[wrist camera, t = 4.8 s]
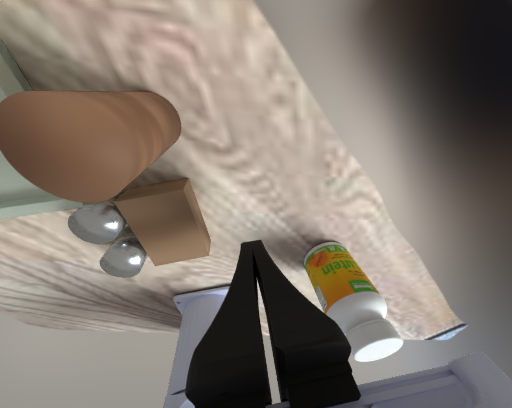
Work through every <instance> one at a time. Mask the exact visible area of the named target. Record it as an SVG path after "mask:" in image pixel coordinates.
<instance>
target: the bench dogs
mask: <svg viewBox="0 0 512 408" xmlns="http://www.w3.org/2000/svg"><path fill="white" fill-rule="evenodd" d="M121 195H122V193H118V194H117V195H116V196H114V197H112V198H111V199H108V200H105V201H101V202H95V203H86V204H85V205H84V206H82V207H81V208H80V209H78V210H77V211H76V212H75V213H73V214H72V215H71V216H70V217H69V220H68V226H69V228H70V230H71V231H72V232H73V234H75V235H76V236H77V237H78V238H80V239H82V240H84V241H87V242H90V243H94V244H106V243H109V242H112V241H113V240H114V239H115V238H116V237H117V236H118V235H119V236H118V237H117V238H116V240H115V241H114V242H113V244H112V245H111V246H110V248H109V249H108V250H107V251H106V253H105V254H104V255H103V257H102V258H101V260H100V266H101V268H102V269H103V270H104V271H105V272H107V273H108V274H110V275H113V276H116V277H123V278H125V277H132V276H135V275H137V274H138V273H139V272H140V270H141V268H142V266H143V264H144V262H145V260H146V258H147V256H148V254H147V253H146V251H145V250H144V248H143V247H142V245H141V243H140V242H139V240H138V239H137V237H136V236H135V234H134V233H133V231H132V229H126V230H124V231H122V229H123V228H124V227H125V225H126V224H127V222H126V220H125V219H124V217H123V216H122V214H121V212H120V211H119V209H118V208H117V206H116V205H115V203H114V202H115V201H116V200H117V199H118V198H119V197H120V196H121ZM121 231H122V232H121ZM120 232H121V233H120ZM119 233H120V234H119Z"/></svg>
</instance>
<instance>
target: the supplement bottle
mask: <svg viewBox="0 0 512 408" xmlns="http://www.w3.org/2000/svg"><path fill="white" fill-rule="evenodd" d="M304 266H305V269H306V272H307V274H308V276H309V279H310V281H311V283H312V285H313V288H314V290H315V292H316V295H317V297H318V299H319V301H320V304H321V306H322V308H323V311H324V313H325V314H326V315H327V316H329V317H330V318H331V319H333V320H334V321H335V322H336V323H337V324H338V325H339V327H340V328H341V330H342V331H343V333H344V334H346V338H347V339H348V341H349V343H350V345H351V347H352V348H351V353H352V355H353V357H354V359H355V360H357V361H360V362H367V361H374V360H378V359H381V358H384V357H386V356H389V355H391V354H392V353H394V352H396V351H397V350H398V349H400V347H401V346H402V345H403V340H402V338H401V337H400V335H399V334H398V332H397V331H396V329H395V328H394V326H393V325H392V324H391V323H390V322H389V321H388V320H385V319H384V318H385V316H386V313H387V306H386V303H385V301H384V299H383V298H382V296H381V295H380V294H379V292H378V291H377V290H376V288H375V287H374V286H373V284H372V283H371V282H370V280H369V279H368V278H367V276H366V275H365V274H364V272H363V271H362V270H361V268H360V267H359V266H358V264H357V263H356V262H355V260H354V259H353V257H352V256H351V255H350V253H349V252H348V251H347V250H346V248H345V247H344V246H343V245H341V244H339V243H336V242H326V243H322V244H319V245H317V246H315V247H314V248H312V249H311V250H310V251H309V252H308V253H307V255H306V256H305V259H304Z"/></svg>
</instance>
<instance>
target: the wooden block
mask: <svg viewBox="0 0 512 408" xmlns="http://www.w3.org/2000/svg"><path fill="white" fill-rule="evenodd" d="M114 203H115V205H116V206H117V208H118V209H119V211H120V212H121V214H122V216H123V217H124V219H125V220H126V222H127V223H128V225H129V226H130V228H131V229H132V231H133V233H134V234H135V236H136V237H137V239H138V240H139V242H140V243H141V245H142V247H143V248H144V250H145V251H146V253H147V254H148V256H149V257H150V259H151V260H152V262H153V264H154V265H155V266H158V265H164V264H169V263H174V262H179V261H184V260H189V259H194V258H200V257H205V256H209V252H210V243H211V239H210V236H209V234H208V231H207V228H206V225H205V222H204V220H203V217H202V214H201V211H200V208H199V206H198V203H197V200H196V197H195V194H194V192H193V189H192V186H191V183H190V180H189V178H186V179H180V180H175V181H169V182H163V183H158V184H152V185H146V186H140V187H135V188H129V189H127V190H126V191H125V192H124V193H123V194H122V195H121V196H120V197H119V198H118V199H117V200H116V201H115V202H114Z"/></svg>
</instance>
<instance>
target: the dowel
mask: <svg viewBox="0 0 512 408" xmlns="http://www.w3.org/2000/svg"><path fill="white" fill-rule="evenodd" d="M180 133H181V121H180V118H179V115H178V113H177V111H176V109H175V108H174V107H173V105H172V104H171V103H170V102H169V101H168V100H166V99H165V98H164V97H162V96H160V95H158V94H156V93H152V92H115V91H23V92H19V93H15V94H12V95H10V96H8V97H7V98H5V99H4V100H2V101H1V102H0V151H1V152H2V154H3V155H4V157H5V158H6V159H7V161H8V162H9V163H10V164H11V166H12V167H13V168H14V169H15V170H16V171H17V172H18V173H19V174H21V175H22V176H23V177H24V178H25V179H27V180H28V181H29V182H31V183H32V184H34V185H35V186H37V187H38V188H40V189H42V190H44V191H46V192H48V193H50V194H52V195H54V196H57V197H60V198H63V199H66V200H70V201H75V202H82V203H95V202H101V201H105V200H108V199H111V198H112V197H114V196H116V195H117V194H118V193H120V192H121V191H122V190H123V189H124V188H125V187H126V186H127V185H128V184H130V183H131V182H132V181H133V180H134V179H135V178H136V177H137V176H138V175H140V174H141V173H142V172H143V171H144V170H145V169H146V168H147V167H148V166H150V165H151V164H152V163H153V162H154V161H155V160H156V159H157V158H158V157H160V156H161V155H162V154H163V153H164V152H165V151H166V150H167V149H168V148H170V147H171V146H172V145H173V144H174V143H175V142H176V141H177V140H178V138H179V136H180Z"/></svg>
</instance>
